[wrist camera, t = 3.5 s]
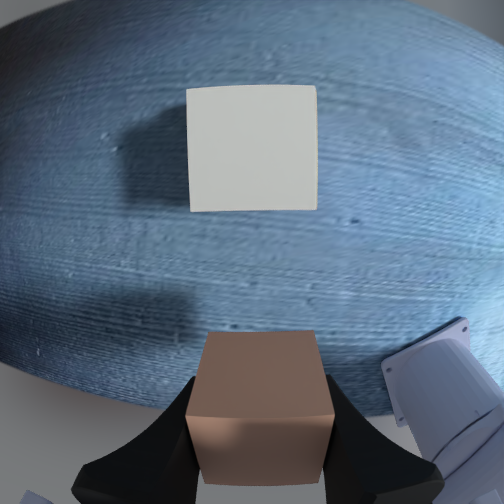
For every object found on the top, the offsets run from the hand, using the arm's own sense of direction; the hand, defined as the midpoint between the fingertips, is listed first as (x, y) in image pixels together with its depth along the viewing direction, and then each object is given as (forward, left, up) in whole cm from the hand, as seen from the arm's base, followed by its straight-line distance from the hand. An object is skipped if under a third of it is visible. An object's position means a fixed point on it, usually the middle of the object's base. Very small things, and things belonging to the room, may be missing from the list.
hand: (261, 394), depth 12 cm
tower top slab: (+9, -4, -5) cm, 11 cm away
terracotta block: (0, 0, -2) cm, 2 cm away
